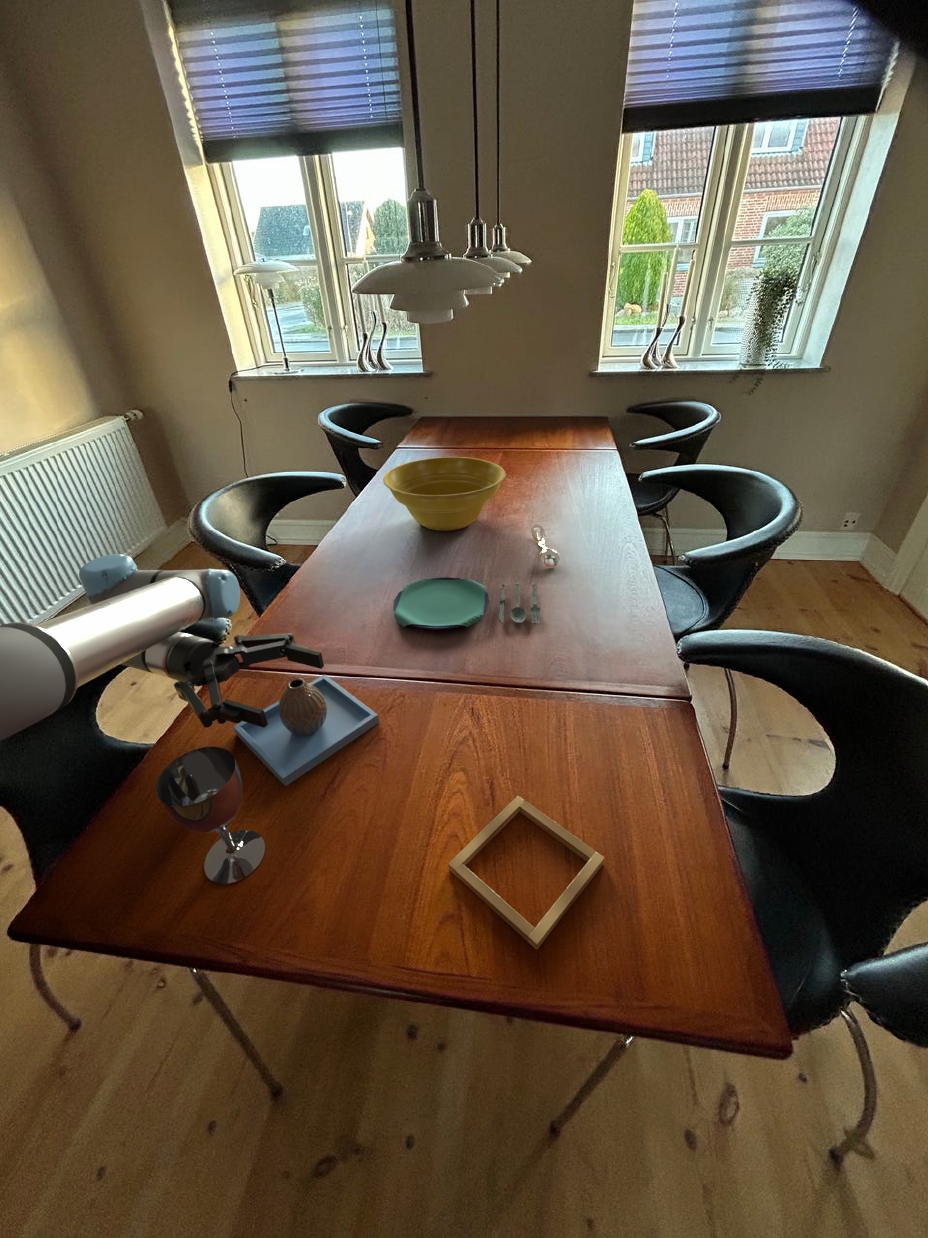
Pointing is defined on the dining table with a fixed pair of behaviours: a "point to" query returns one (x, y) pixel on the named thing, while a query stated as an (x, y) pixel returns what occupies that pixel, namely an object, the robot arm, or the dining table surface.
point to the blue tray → (303, 752)
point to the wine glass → (211, 809)
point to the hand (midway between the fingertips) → (294, 688)
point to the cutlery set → (451, 604)
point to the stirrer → (545, 548)
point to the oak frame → (497, 903)
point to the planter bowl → (445, 489)
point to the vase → (302, 708)
